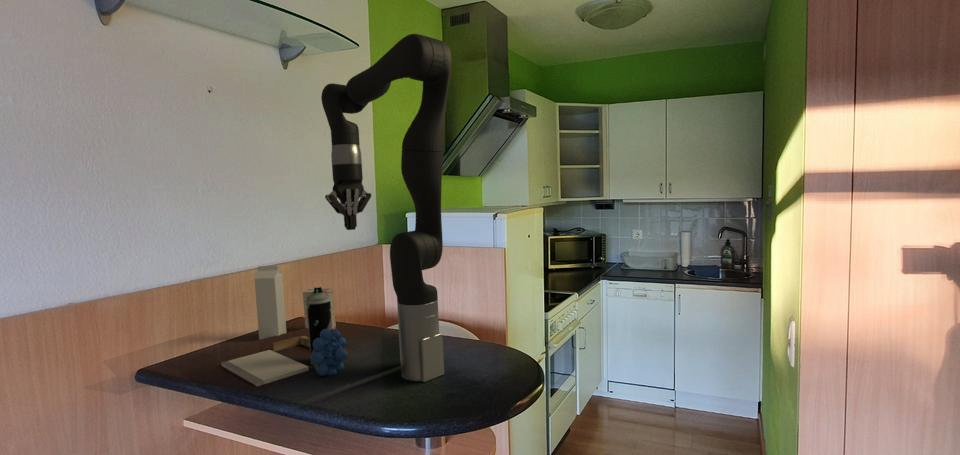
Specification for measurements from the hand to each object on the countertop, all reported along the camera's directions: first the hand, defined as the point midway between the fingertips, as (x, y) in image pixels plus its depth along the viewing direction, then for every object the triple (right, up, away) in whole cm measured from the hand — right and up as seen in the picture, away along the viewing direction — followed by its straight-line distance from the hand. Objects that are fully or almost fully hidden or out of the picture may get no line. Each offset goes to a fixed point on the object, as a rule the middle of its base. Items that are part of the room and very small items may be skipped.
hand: (351, 229), depth 130 cm
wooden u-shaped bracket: (-10, -34, -3) cm, 35 cm away
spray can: (-5, -34, -8) cm, 35 cm away
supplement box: (-16, -32, +26) cm, 44 cm away
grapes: (+1, -35, -16) cm, 38 cm away
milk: (-29, -33, +20) cm, 48 cm away
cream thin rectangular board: (-14, -33, -7) cm, 36 cm away
